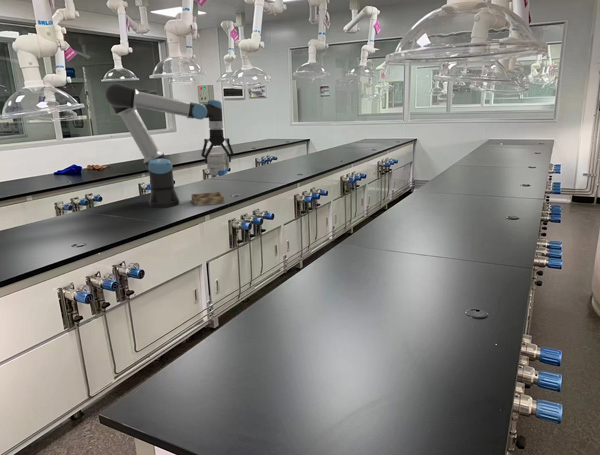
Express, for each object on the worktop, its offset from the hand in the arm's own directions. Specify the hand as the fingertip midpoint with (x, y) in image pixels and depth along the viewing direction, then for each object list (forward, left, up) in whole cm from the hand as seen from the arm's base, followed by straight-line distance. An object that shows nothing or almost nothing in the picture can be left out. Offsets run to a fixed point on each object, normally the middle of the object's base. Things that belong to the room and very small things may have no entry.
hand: (218, 168), depth 254 cm
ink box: (0, 0, -3) cm, 3 cm away
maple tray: (-9, -15, -15) cm, 23 cm away
